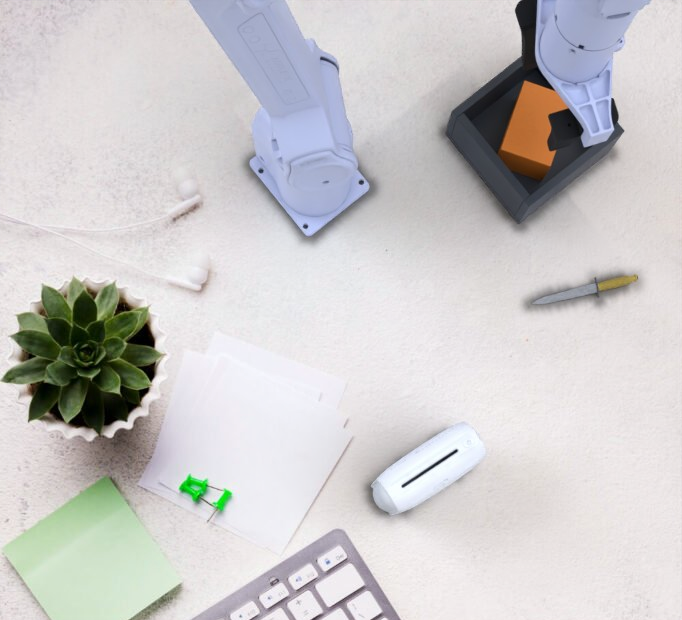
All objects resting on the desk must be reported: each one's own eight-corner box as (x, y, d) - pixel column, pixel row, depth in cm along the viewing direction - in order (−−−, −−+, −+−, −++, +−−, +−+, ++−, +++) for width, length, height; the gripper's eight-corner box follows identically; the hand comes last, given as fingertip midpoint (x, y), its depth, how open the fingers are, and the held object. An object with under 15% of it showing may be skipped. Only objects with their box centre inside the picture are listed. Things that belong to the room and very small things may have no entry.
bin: (444, 133, 84) (451, 110, 80) (535, 61, 85) (547, 34, 80) (518, 224, 84) (529, 206, 80) (609, 152, 85) (624, 130, 80)
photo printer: (450, 427, 84) (471, 410, 72) (474, 464, 84) (499, 452, 71) (363, 485, 84) (369, 477, 71) (387, 521, 84) (397, 520, 71)
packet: (493, 165, 84) (500, 149, 80) (516, 98, 84) (524, 79, 81) (541, 181, 84) (550, 166, 80) (564, 115, 84) (574, 97, 81)
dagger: (534, 313, 84) (530, 293, 84) (532, 313, 85) (528, 293, 84) (640, 287, 83) (637, 266, 83) (637, 288, 84) (634, 267, 84)
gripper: (672, 90, 63) (612, 168, 77) (614, -95, 63) (564, 15, 77) (582, 117, 63) (538, 190, 77) (524, -68, 63) (490, 38, 77)
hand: (546, 104), depth 77 cm, fingers open, 7 cm apart
